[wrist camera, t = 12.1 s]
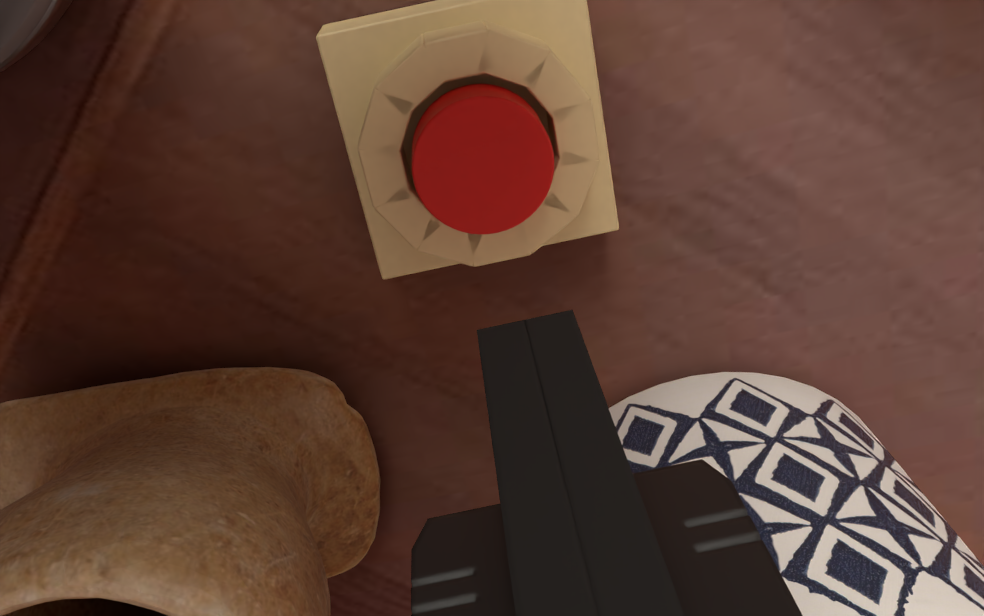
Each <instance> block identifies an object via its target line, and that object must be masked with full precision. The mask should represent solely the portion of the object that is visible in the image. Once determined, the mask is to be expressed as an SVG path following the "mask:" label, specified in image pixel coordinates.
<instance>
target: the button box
mask: <svg viewBox="0 0 984 616" xmlns="http://www.w3.org/2000/svg"><path fill="white" fill-rule="evenodd" d="M316 40H317V44H318V47H319V51H320V55H321V58H322V62H323V66H324V69H325V73H326V77H327V80H328V84H329V87H330V91H331V95H332V98H333V102H334V106H335V109H336V113H337V117H338V120H339V124H340V128H341V131H342V135H343V139H344V142H345V146H346V149H347V153H348V157H349V160H350V164H351V168H352V171H353V175H354V179H355V182H356V186H357V190H358V193H359V197H360V200H361V204H362V208H363V211H364V215H365V219H366V222H367V226H368V230H369V233H370V237H371V241H372V244H373V248H374V251H375V255H376V259H377V262H378V266H379V270H380V273H381V277H382V279H389V278H394V277H399V276H403V275H408V274H413V273H418V272H422V271H427V270H432V269H436V268H441V267H446V266H451V265H455V264H460V263H462V264H465V265H469V266H473V267H477V266H482V265H486V264H491V263H496V262H501V261H505V260H510V259H515V258H519V257H524V256H529V255H531V254H532V253H534V252H535V251H536V250H538V249H539V248H540V247H541V246H545V245H550V244H554V243H559V242H564V241H569V240H573V239H578V238H583V237H587V236H592V235H597V234H602V233H606V232H611V231H616V230H618V229H619V223H618V216H617V209H616V202H615V195H614V188H613V181H612V174H611V167H610V160H609V153H608V146H607V139H606V131H605V124H604V117H603V110H602V103H601V96H600V89H599V82H598V75H597V68H596V61H595V54H594V47H593V40H592V32H591V25H590V18H589V11H588V4H587V0H436V1H431V2H426V3H422V4H417V5H412V6H408V7H403V8H399V9H394V10H389V11H385V12H380V13H375V14H371V15H366V16H362V17H357V18H352V19H348V20H343V21H338V22H334V23H329V24H325V25H323V26H322V28H321V29H320V31H319V32H318V34H317V35H316ZM470 84H492V85H496V86H500V87H503V88H506V89H508V90H511V91H512V92H514V93H516V94H518V95H519V96H520V97H522V98H523V99H524V100H525V101H526V102H527V103H528V104H529V105H530V106H531V107H532V108H533V109H534V111H535V112H536V113H537V115H538V117H539V119H540V121H541V122H542V124H543V126H544V128H545V130H546V132H547V134H548V136H549V138H550V141H551V144H552V148H553V152H554V161H555V162H554V175H553V180H552V183H551V187H550V189H549V191H548V194H547V196H546V198H545V199H544V201H543V202H542V204H541V205H540V206H539V208H538V209H537V210H536V211H535V212H534V213H533V214H532V215H531V216H530V217H529V218H528V219H526V220H525V221H524V222H522V223H520V224H519V225H517V226H515V227H513V228H511V229H508V230H506V231H502V232H499V233H493V234H480V235H479V234H469V233H465V232H461V231H458V230H455V229H453V228H451V227H449V226H447V225H445V224H443V223H442V222H440V221H439V220H438V219H436V218H435V217H434V216H433V215H432V214H431V213H430V212H429V211H428V210H427V208H426V207H425V206H424V204H423V203H422V201H421V200H420V198H419V196H418V194H417V192H416V189H415V186H414V182H413V177H412V141H413V136H414V132H415V129H416V127H417V124H418V122H419V120H420V118H421V117H422V115H423V114H424V112H425V111H426V109H427V108H428V107H429V106H430V105H431V104H432V103H433V102H434V101H435V100H436V99H438V98H439V97H440V96H442V95H443V94H445V93H447V92H448V91H450V90H453V89H455V88H457V87H461V86H464V85H470Z"/></svg>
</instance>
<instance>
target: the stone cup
mask: <svg viewBox="0 0 984 616" xmlns="http://www.w3.org/2000/svg"><path fill="white" fill-rule="evenodd" d="M380 483H381V480H380V473H379V467H378V462H377V457H376V452H375V448H374V445H373V442H372V439H371V436H370V433H369V430H368V427H367V425H366V423H365V421H364V419H363V418H362V416H361V415H360V414H359V413H358V412H357V411H356V410H355V409H353V408H352V407H350V406H349V405H347V403H346V400H345V398H344V395H343V393H342V392H341V391H340V389H339V388H338V387H337V385H336V384H335V383H334V382H332V381H330V380H329V379H327V378H325V377H322V376H320V375H317V374H315V373H312V372H310V371H304V370H299V369H290V368H276V367H249V368H215V369H207V370H198V371H189V372H181V373H176V374H170V375H165V376H159V377H154V378H147V379H140V380H133V381H126V382H119V383H112V384H106V385H100V386H95V387H89V388H84V389H78V390H72V391H67V392H61V393H55V394H49V395H43V396H37V397H31V398H24V399H18V400H11V401H7V402H3V403H0V616H330V603H331V599H330V593H329V588H328V582H327V578H329V577H332V576H335V575H338V574H341V573H343V572H345V571H347V570H349V569H351V568H353V567H355V566H356V565H357V564H358V563H359V562H360V561H361V560H362V559H363V558H364V557H365V556H366V554H367V552H368V550H369V548H370V546H371V544H372V542H373V541H374V539H375V534H376V529H377V523H378V518H379V513H380Z"/></svg>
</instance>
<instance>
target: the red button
mask: <svg viewBox="0 0 984 616" xmlns="http://www.w3.org/2000/svg"><path fill="white" fill-rule="evenodd" d="M554 162H555V161H554V152H553V148H552V144H551V141H550V138H549V136H548V134H547V132H546V130H545V128H544V126H543V124H542V122H541V121H540V119H539V117H538V115H537V113H536V112H535V111H534V109H533V108H532V107H531V106H530V105H529V104H528V103H527V102H526V101H525V100H524V99H523V98H522V97H520V96H519V95H518V94H516V93H514V92H512V91H511V90H508V89H506V88H503V87H500V86H496V85H492V84H470V85H464V86H461V87H457V88H455V89H453V90H450V91H448V92H447V93H445V94H443V95H442V96H440V97H439V98H438V99H436V100H435V101H434V102H433V103H432V104H431V105H430V106H429V107H428V108H427V109H426V111H425V112H424V114H423V115H422V117H421V118H420V120H419V122H418V124H417V127H416V129H415V132H414V136H413V141H412V177H413V182H414V186H415V189H416V192H417V194H418V196H419V198H420V200H421V201H422V203H423V204H424V206H425V207H426V208H427V210H428V211H429V212H430V213H431V214H432V215H433V216H434V217H435V218H436V219H438V220H439V221H440V222H442V223H443V224H445V225H447V226H449V227H451V228H453V229H455V230H458V231H461V232H465V233H469V234H479V235H480V234H493V233H499V232H502V231H506V230H508V229H511V228H513V227H515V226H517V225H519V224H520V223H522V222H524V221H525V220H526V219H528V218H529V217H530V216H531V215H532V214H533V213H534V212H535V211H536V210H537V209H538V208H539V206H540V205H541V204H542V202H543V201H544V199H545V198H546V196H547V194H548V191H549V189H550V187H551V183H552V180H553V175H554Z"/></svg>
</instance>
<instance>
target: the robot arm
mask: <svg viewBox="0 0 984 616" xmlns="http://www.w3.org/2000/svg"><path fill="white" fill-rule="evenodd" d="M71 2H72V0H0V72H2V71H4V70H5V69H7V68H8V67H10V66H11V65H13V64H14V63H16V62H17V61H18V60H20V59H21V58H23V57H24V56H25V55H26V54H28V53H29V52H30V51H31V50H32V49H33V48H34V47H35V46H37V45H38V44H39V43H40V42H41V41H42V40H43V39H44V38H45V37H46V35H47V34H48V33H49V32H50V31H51V30H52V29H53V28H54V26H55V25H56V24H57V23H58V21H59V20H60V19H61V17H62V16H63V14H64V13H65V11H66V10H67V8H68V7H69V6H70V4H71ZM477 335H478V342H479V350H480V357H481V364H482V371H483V379H484V386H485V393H486V401H487V408H488V415H489V423H490V430H491V437H492V445H493V452H494V459H495V467H496V474H497V481H498V489H499V496H500V503H501V504H497V505H492V506H487V507H482V508H477V509H473V510H468V511H463V512H458V513H453V514H448V515H444V516H439V517H434V518H429V519H427V521H426V523H425V525H424V527H423V529H422V531H421V533H420V535H419V537H418V538H417V540H416V542H415V544H414V546H413V548H412V561H411V582H412V588H411V610H412V615H411V616H803V615H802V613H801V611H800V610H799V608H798V606H797V604H796V602H795V600H794V598H793V596H792V594H791V593H790V591H789V589H788V587H787V585H786V583H785V581H784V579H783V577H782V575H781V574H780V572H779V570H778V568H777V566H776V564H775V562H774V560H773V558H772V557H771V555H770V553H769V551H768V549H767V547H766V545H765V543H764V541H763V540H761V538H760V534H759V532H758V530H757V528H756V526H755V524H754V523H753V521H752V519H751V517H750V515H749V516H748V513H747V509H746V507H745V506H744V504H743V502H742V500H741V498H740V496H739V494H738V492H737V490H736V489H735V487H734V485H733V483H732V481H731V480H730V479H728V478H727V477H726V476H724V475H723V474H722V473H720V472H719V471H717V470H716V469H715V468H713V467H712V466H711V465H709V464H708V463H707V462H705V461H704V460H702V459H700V460H696V461H691V462H686V463H681V464H676V465H671V466H667V467H662V468H657V469H652V470H647V471H643V472H638V473H633V474H632V471H631V468H630V465H629V463H628V460H627V457H626V455H625V452H624V449H623V446H622V444H621V441H620V438H619V435H618V433H617V430H616V427H615V425H614V422H613V419H612V416H611V414H610V411H609V408H608V406H607V403H606V400H605V397H604V395H603V392H602V389H601V387H600V384H599V381H598V378H597V376H596V373H595V370H594V367H593V365H592V362H591V359H590V357H589V354H588V351H587V348H586V346H585V343H584V340H583V338H582V335H581V332H580V329H579V327H578V324H577V321H576V318H575V316H574V313H573V310H570V311H565V312H560V313H555V314H551V315H546V316H541V317H536V318H531V319H527V320H522V321H517V322H512V323H508V324H503V325H498V326H493V327H489V328H484V329H479V330H477Z"/></svg>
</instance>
